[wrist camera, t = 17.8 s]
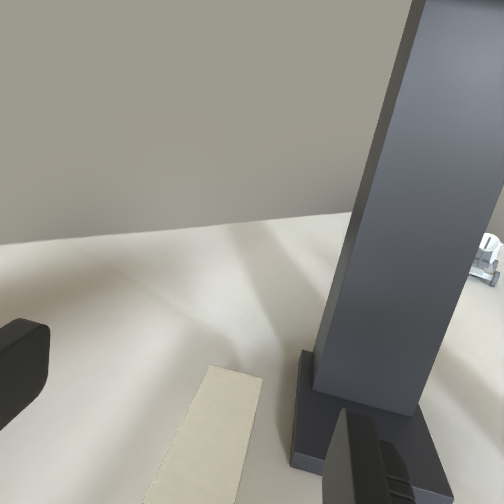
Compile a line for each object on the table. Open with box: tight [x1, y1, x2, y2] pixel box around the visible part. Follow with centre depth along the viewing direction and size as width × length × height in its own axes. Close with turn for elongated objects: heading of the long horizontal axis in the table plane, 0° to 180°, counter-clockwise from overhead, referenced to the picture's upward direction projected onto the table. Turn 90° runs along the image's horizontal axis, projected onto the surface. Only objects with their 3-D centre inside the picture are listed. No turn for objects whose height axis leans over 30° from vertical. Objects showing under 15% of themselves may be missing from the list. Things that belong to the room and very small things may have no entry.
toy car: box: [469, 233, 501, 287], centre depth 83 cm, size 18×10×12 cm
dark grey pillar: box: [290, 0, 504, 504], centre depth 27 cm, size 10×13×32 cm
